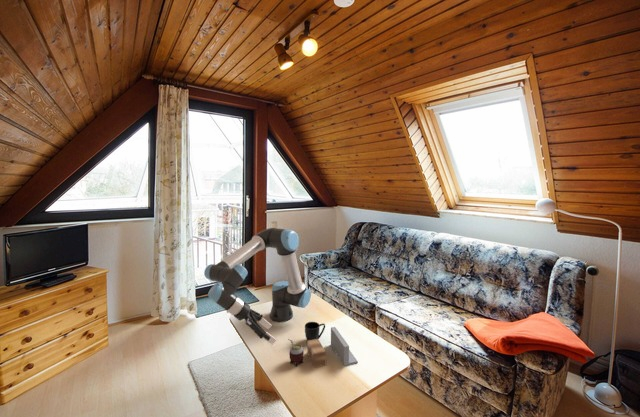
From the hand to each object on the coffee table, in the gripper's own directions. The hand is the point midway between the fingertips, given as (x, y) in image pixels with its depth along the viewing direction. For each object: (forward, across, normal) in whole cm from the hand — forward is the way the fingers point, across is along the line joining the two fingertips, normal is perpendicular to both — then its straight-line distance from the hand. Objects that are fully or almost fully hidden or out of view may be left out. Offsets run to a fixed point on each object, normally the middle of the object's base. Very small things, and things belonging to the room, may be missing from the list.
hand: (272, 334), depth 138 cm
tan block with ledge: (+28, 0, +4) cm, 28 cm away
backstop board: (+38, 0, +14) cm, 41 cm away
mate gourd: (+21, 0, -4) cm, 21 cm away
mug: (+31, -16, +7) cm, 36 cm away
